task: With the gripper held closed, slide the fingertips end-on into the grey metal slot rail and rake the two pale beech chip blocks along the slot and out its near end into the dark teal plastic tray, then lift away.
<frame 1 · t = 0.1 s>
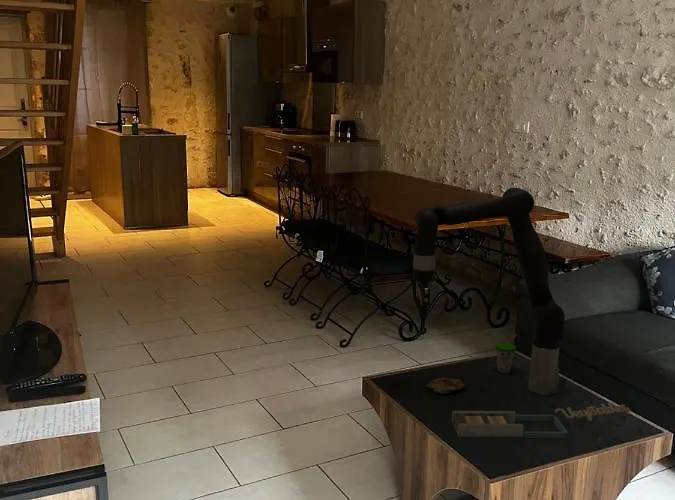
hand: (421, 311, 229), 29 cm above the table, fingers open, 8 cm apart
chip a: (496, 428, 206), point 1 cm above the table, touching slot rail
decorative sign: (594, 414, 220), on the table
cup: (503, 371, 253), on the table
slot rail: (486, 431, 206), on the table
tray: (539, 431, 206), on the table
stone: (445, 390, 236), on the table
chip b: (473, 428, 205), point 1 cm above the table, touching slot rail
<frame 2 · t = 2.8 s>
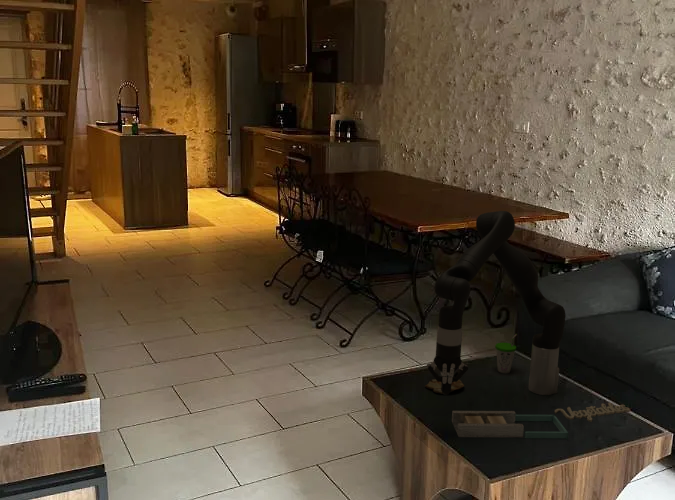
hand: (445, 393, 203), 13 cm above the table, fingers closed
nothing on the table moved.
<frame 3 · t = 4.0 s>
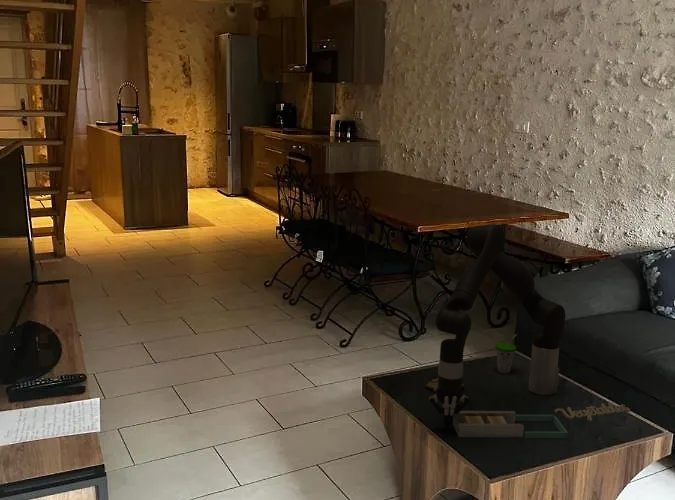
hand: (447, 424, 205), 2 cm above the table, fingers closed
nothing on the table moved.
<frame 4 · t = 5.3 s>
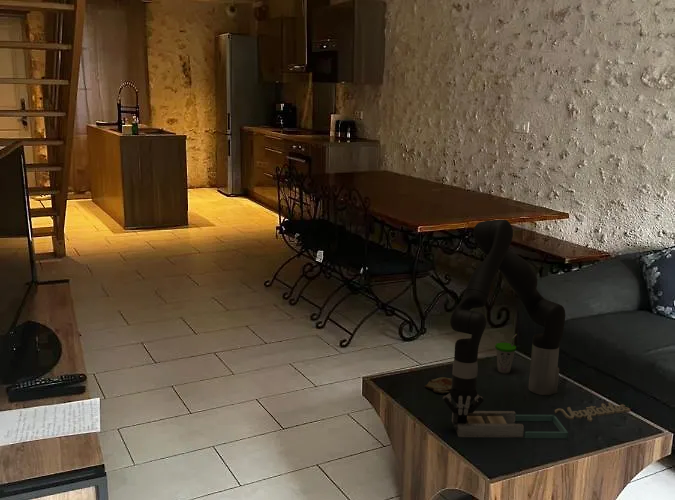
hand: (461, 424, 205), 2 cm above the table, fingers closed
chip b: (474, 428, 205), point 1 cm above the table, touching gripper
everything else where it was.
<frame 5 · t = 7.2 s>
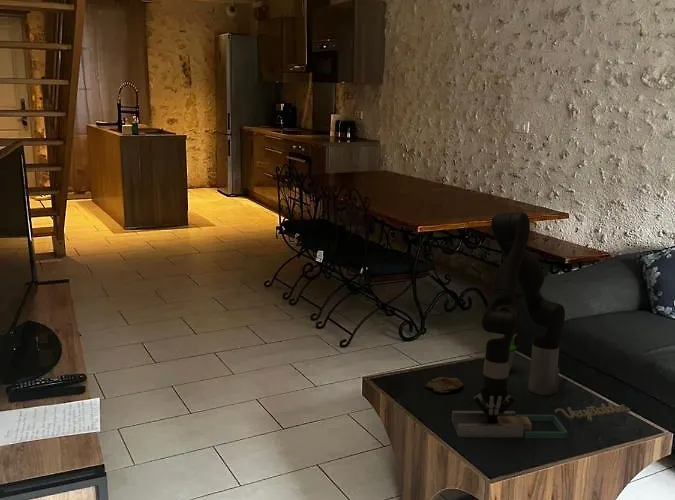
hand: (491, 424, 205), 2 cm above the table, fingers closed
chip a: (520, 428, 206), point 1 cm above the table, touching chip b
chip b: (504, 428, 206), point 1 cm above the table, touching chip a, gripper
everything else where it was.
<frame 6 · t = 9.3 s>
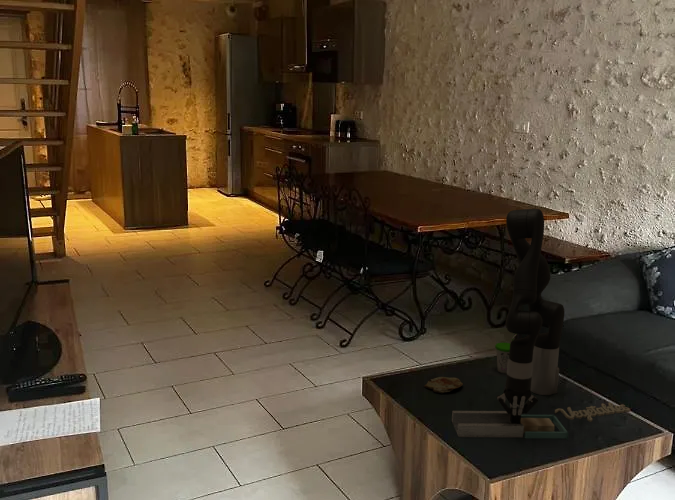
hand: (514, 424, 205), 2 cm above the table, fingers closed
chip a: (543, 430, 206), resting on tray
chip b: (527, 430, 206), resting on tray, touching gripper
everything else where it was.
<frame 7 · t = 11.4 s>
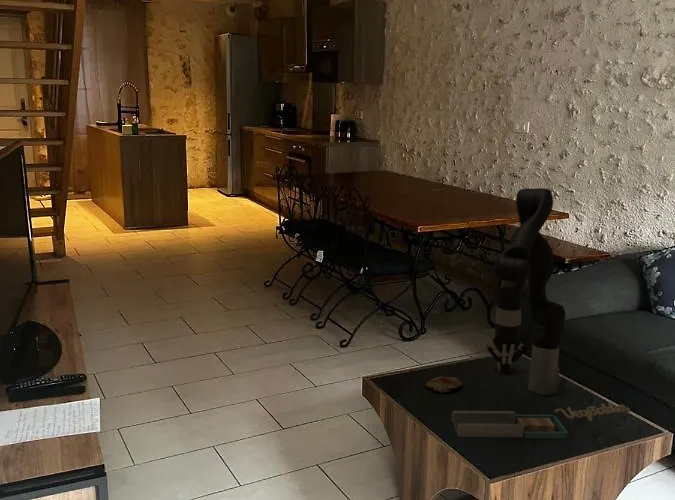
hand: (504, 373, 205), 18 cm above the table, fingers closed
chip b: (527, 430, 206), resting on tray
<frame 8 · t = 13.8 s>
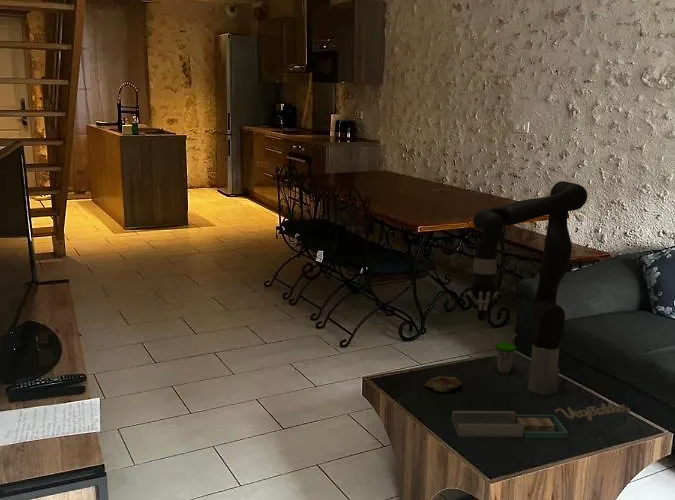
hand: (481, 320, 222), 29 cm above the table, fingers closed
at the end: chip a inside the target area on the tray (1.2 cm from its centre), point 0.5 cm above the tray's base; chip b inside the target area on the tray (3.9 cm from its centre), point 0.5 cm above the tray's base; chip b touching tray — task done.
